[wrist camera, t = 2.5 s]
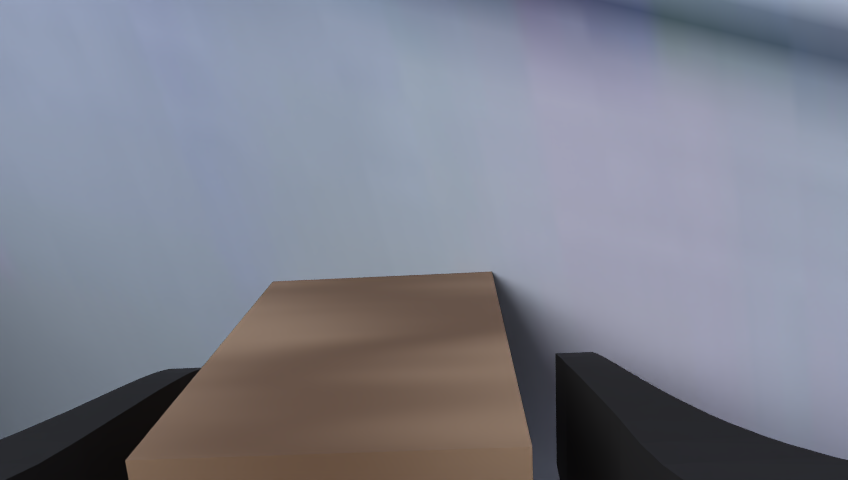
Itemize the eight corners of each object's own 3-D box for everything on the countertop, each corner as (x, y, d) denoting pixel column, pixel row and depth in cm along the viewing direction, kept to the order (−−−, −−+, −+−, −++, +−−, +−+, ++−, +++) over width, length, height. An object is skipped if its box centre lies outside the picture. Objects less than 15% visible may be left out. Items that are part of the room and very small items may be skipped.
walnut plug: (492, 271, 12) (532, 446, 7) (498, 469, 13) (539, 773, 8) (273, 281, 13) (124, 461, 7) (294, 475, 14) (181, 779, 8)
